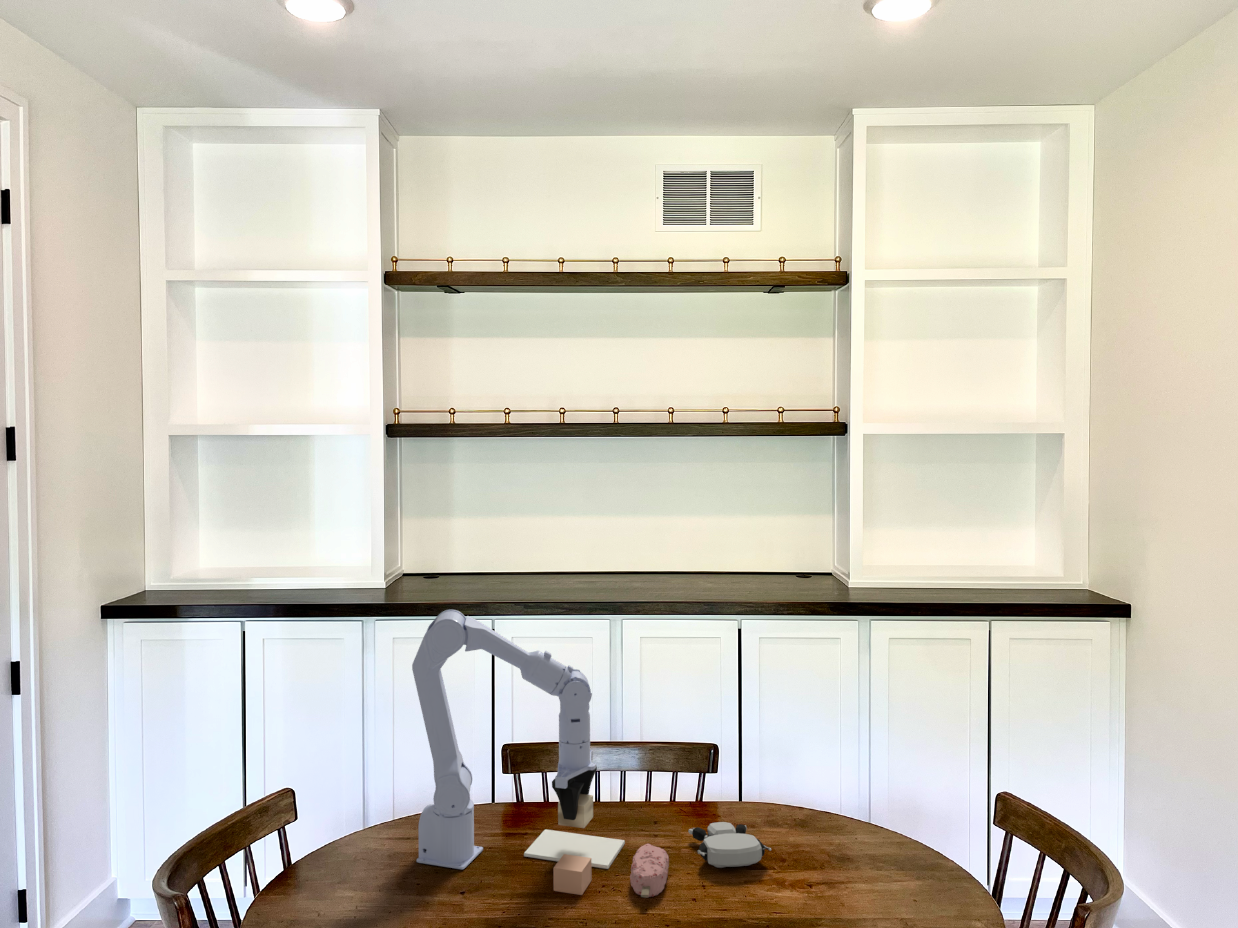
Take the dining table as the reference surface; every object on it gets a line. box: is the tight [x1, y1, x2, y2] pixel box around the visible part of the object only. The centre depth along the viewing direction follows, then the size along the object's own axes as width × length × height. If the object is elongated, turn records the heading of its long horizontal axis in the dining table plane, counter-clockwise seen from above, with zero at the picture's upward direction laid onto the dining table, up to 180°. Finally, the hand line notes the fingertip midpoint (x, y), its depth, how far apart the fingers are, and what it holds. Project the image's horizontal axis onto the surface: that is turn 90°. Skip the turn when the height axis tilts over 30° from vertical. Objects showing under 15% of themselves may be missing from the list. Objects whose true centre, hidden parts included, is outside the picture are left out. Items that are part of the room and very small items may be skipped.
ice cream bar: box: [629, 843, 670, 899], centre depth 144 cm, size 6×4×15 cm
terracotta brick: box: [552, 854, 593, 896], centre depth 144 cm, size 5×5×4 cm
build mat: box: [523, 829, 626, 870], centre depth 157 cm, size 16×10×1 cm, turn 73°
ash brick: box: [557, 794, 594, 829], centre depth 157 cm, size 5×5×4 cm
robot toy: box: [688, 821, 772, 869], centre depth 154 cm, size 12×4×15 cm
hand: (575, 812), depth 157 cm, fingers closed on ash brick, 5 cm apart
